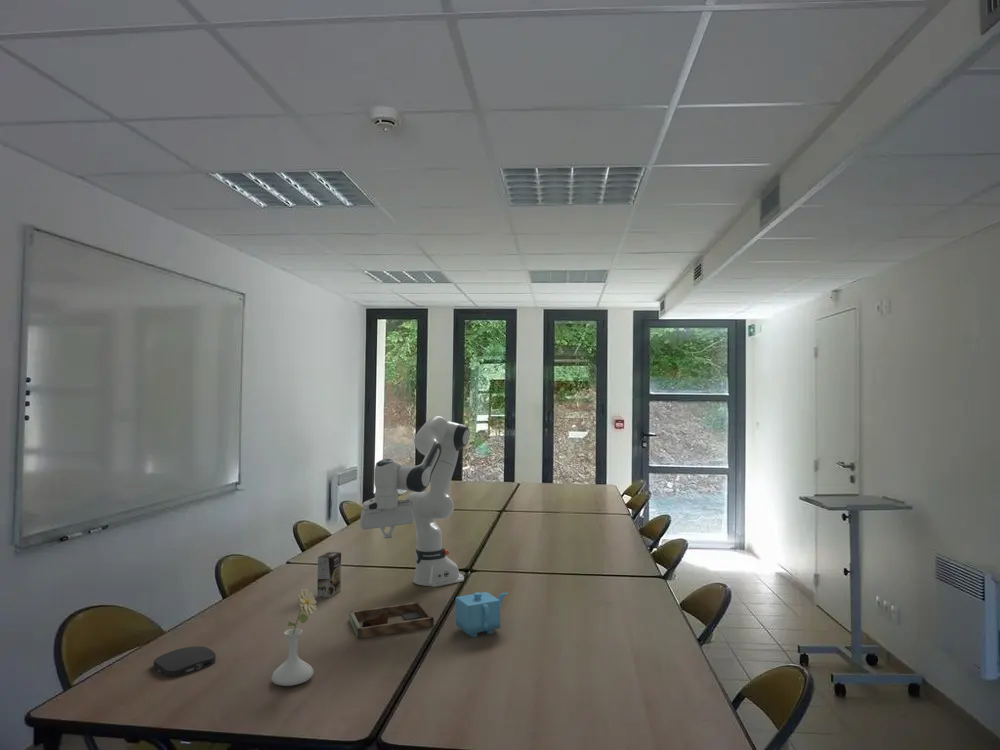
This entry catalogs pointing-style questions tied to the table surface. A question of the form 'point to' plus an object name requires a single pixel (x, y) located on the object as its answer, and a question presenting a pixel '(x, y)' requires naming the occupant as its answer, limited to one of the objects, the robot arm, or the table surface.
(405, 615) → the trap pits
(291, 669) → the flower in vase
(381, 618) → the brick
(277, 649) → the table surface
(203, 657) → the media streaming box
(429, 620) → the box
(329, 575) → the coffee box
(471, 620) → the teapot
